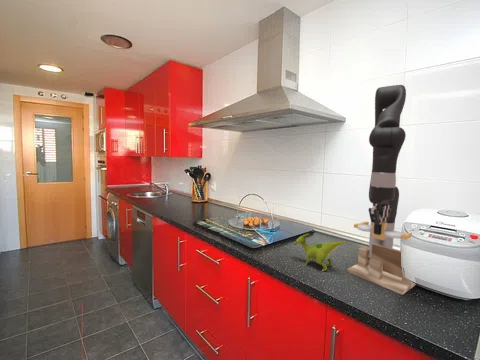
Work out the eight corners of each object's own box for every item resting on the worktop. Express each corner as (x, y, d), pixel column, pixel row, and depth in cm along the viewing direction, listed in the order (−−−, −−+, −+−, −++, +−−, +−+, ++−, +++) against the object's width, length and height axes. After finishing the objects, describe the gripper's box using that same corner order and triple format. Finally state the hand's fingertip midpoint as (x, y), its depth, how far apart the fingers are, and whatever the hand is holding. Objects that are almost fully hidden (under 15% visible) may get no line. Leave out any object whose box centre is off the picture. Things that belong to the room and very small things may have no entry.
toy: (310, 269, 106) (296, 236, 110) (358, 258, 94) (340, 221, 97) (302, 276, 100) (287, 240, 104) (352, 264, 87) (333, 225, 91)
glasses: (365, 228, 99) (365, 214, 98) (416, 240, 84) (417, 223, 84) (350, 233, 92) (351, 217, 92) (403, 246, 78) (405, 228, 78)
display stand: (363, 264, 102) (365, 240, 101) (416, 284, 87) (419, 255, 86) (347, 272, 95) (349, 245, 94) (402, 294, 80) (405, 263, 79)
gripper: (380, 183, 92) (376, 228, 94) (362, 185, 84) (358, 234, 85) (402, 185, 86) (398, 233, 88) (385, 187, 78) (381, 240, 79)
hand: (378, 233), depth 87 cm, fingers closed on glasses
